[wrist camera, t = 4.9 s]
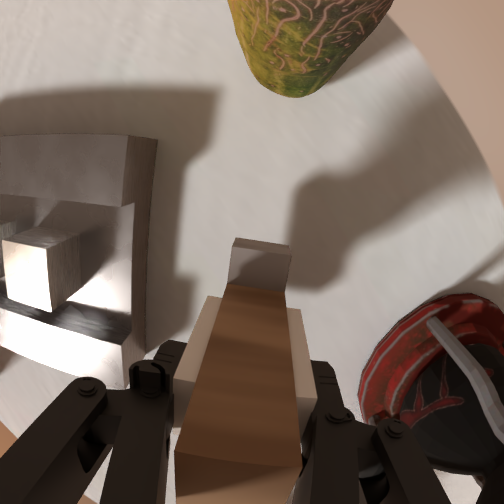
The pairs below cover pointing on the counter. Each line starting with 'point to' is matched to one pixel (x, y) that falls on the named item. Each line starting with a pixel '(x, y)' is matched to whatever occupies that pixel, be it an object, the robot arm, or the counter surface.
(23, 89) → the counter surface
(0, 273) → the beige cube
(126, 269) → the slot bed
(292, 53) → the vegetable
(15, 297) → the wooden cube
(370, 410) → the hourglass
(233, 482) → the brown upright block
